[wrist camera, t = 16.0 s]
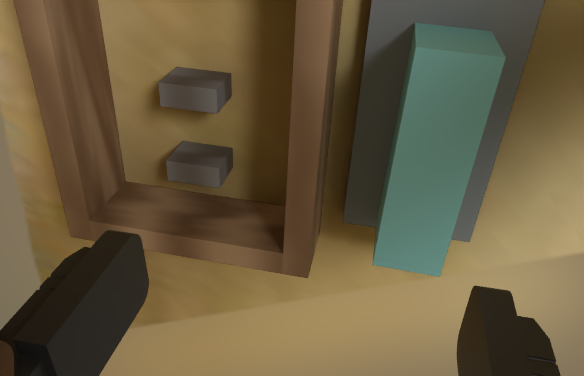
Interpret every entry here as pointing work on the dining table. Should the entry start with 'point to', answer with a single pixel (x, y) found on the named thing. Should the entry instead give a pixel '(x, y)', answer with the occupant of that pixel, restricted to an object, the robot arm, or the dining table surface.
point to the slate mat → (389, 81)
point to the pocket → (187, 156)
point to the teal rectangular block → (435, 144)
